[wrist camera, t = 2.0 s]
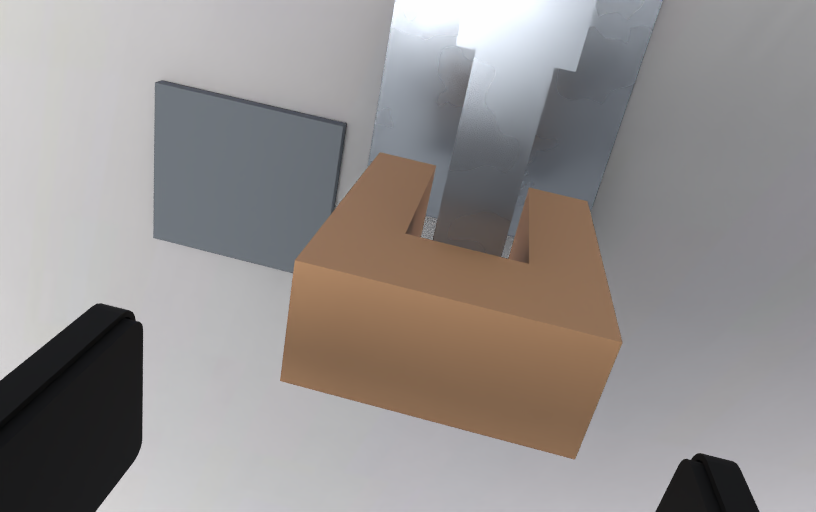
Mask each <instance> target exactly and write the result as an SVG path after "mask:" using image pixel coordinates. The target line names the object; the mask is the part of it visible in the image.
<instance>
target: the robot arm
mask: <svg viewBox="0 0 816 512" xmlns="http://www.w3.org/2000/svg"><path fill="white" fill-rule="evenodd" d="M142 401H143V326H142V324H141V323H140V322H138V321H135V316H134V314H133V312H131V311H129V310H125V309H121V308H117V307H113V306H109V305H105V304H96V305H94V306H92V307H91V308H90V309H89V310H87V311H86V312H85V313H84V314H82V315H81V316H80V317H79V318H77V319H76V320H75V321H74V322H73V323H71V324H70V325H69V326H68V327H66V328H65V329H64V330H63V331H61V332H60V333H59V334H58V335H56V336H55V337H54V338H53V339H51V340H50V341H49V342H48V343H46V344H45V345H44V346H43V347H42V348H40V349H39V350H38V351H37V352H35V353H34V354H33V355H32V356H30V357H29V358H28V359H27V360H25V361H24V362H23V363H22V364H20V365H19V366H18V367H17V368H16V369H14V370H13V371H12V372H10V373H9V374H8V375H7V376H5V377H4V378H3V379H2V380H1V381H0V512H96V510H97V509H98V508H99V506H100V505H101V504H102V502H103V501H104V500H105V498H106V497H107V496H108V495H109V493H110V492H111V491H112V489H113V488H114V487H115V485H116V484H117V483H118V482H119V480H120V479H121V478H122V476H123V475H124V474H125V472H126V471H127V470H128V469H129V467H130V466H131V465H132V463H133V462H134V460H135V459H136V457H137V455H138V453H139V451H140V448H141V444H142ZM656 512H759V510H758V508H757V505H756V503H755V501H754V499H753V496H752V494H751V492H750V490H749V487H748V485H747V483H746V481H745V479H744V476H743V474H742V472H741V470H740V468H739V466H738V465H737V464H736V463H735V462H733V461H729V460H725V459H721V458H717V457H713V456H709V455H705V454H701V453H699V454H696V455H695V456H693V458H692V459H691V460H688V459H684V460H682V461H681V462H680V464H679V466H678V468H677V470H676V472H675V474H674V476H673V478H672V480H671V482H670V484H669V486H668V488H667V490H666V492H665V494H664V496H663V498H662V500H661V502H660V504H659V506H658V508H657V510H656Z"/></svg>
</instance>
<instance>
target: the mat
mask: <svg viewBox="0 0 816 512" xmlns="http://www.w3.org/2000/svg"><path fill="white" fill-rule="evenodd" d="M346 125H347V124H346V123H342V122H338V121H333V120H329V119H325V118H321V117H316V116H312V115H308V114H304V113H299V112H295V111H291V110H286V109H282V108H278V107H274V106H269V105H265V104H261V103H256V102H252V101H248V100H244V99H239V98H235V97H231V96H226V95H222V94H218V93H214V92H209V91H205V90H201V89H196V88H192V87H188V86H184V85H179V84H175V83H171V82H166V81H162V80H161V81H158V82H155V135H154V233H153V238H156V239H160V240H164V241H168V242H172V243H176V244H180V245H184V246H188V247H192V248H196V249H200V250H203V251H207V252H211V253H215V254H219V255H223V256H227V257H231V258H235V259H239V260H243V261H247V262H251V263H255V264H259V265H263V266H267V267H271V268H275V269H279V270H282V271H286V272H290V273H293V271H294V263H295V259H296V258H297V257H298V256H299V254H300V253H301V252H302V250H303V249H304V248H305V247H306V245H307V244H308V243H309V242H310V240H311V239H312V238H313V236H314V235H315V234H316V233H317V231H318V230H319V229H320V228H321V226H322V225H323V224H324V222H325V221H326V220H327V219H328V217H329V216H330V215H331V214H332V212H333V211H334V206H335V200H336V193H337V186H338V179H339V172H340V165H341V159H342V152H343V145H344V138H345V131H346Z"/></svg>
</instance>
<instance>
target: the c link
mask: <svg viewBox="0 0 816 512" xmlns="http://www.w3.org/2000/svg"><path fill="white" fill-rule="evenodd" d="M435 170H436V165H432V164H428V163H423V162H419V161H415V160H411V159H406V158H402V157H398V156H394V155H390V154H385V153H381V152H380V153H379V154H378V155H377V156H376V158H375V159H374V160H373V162H372V163H371V164H370V165H369V167H368V168H367V169H366V170H365V172H364V173H363V174H362V176H361V177H360V178H359V179H358V181H357V182H356V183H355V184H354V186H353V187H352V188H351V189H350V191H349V192H348V193H347V195H346V196H345V197H344V198H343V200H342V201H341V202H340V203H339V205H338V206H337V207H336V209H335V210H334V211H333V212H332V214H331V215H330V216H329V217H328V219H327V220H326V221H325V222H324V224H323V225H322V226H321V228H320V229H319V230H318V231H317V233H316V234H315V235H314V236H313V238H312V239H311V240H310V242H309V243H308V244H307V245H306V247H305V248H304V249H303V250H302V252H301V253H300V254H299V256H298V257H297V258H296V259H295V263H294V271H293V279H292V288H291V296H290V304H289V312H288V321H287V329H286V337H285V345H284V353H283V362H282V370H281V378H280V381H282V382H286V383H290V384H294V385H297V386H301V387H305V388H309V389H312V390H316V391H320V392H324V393H327V394H331V395H335V396H339V397H342V398H346V399H350V400H354V401H357V402H361V403H365V404H369V405H372V406H376V407H380V408H384V409H387V410H391V411H395V412H399V413H402V414H406V415H410V416H414V417H417V418H421V419H425V420H429V421H432V422H436V423H440V424H444V425H447V426H451V427H455V428H459V429H462V430H466V431H470V432H474V433H477V434H481V435H485V436H489V437H492V438H496V439H500V440H504V441H507V442H511V443H515V444H519V445H522V446H526V447H530V448H534V449H537V450H541V451H545V452H549V453H552V454H556V455H560V456H564V457H567V458H571V459H575V458H576V456H577V453H578V451H579V448H580V446H581V443H582V441H583V438H584V436H585V434H586V431H587V429H588V426H589V424H590V421H591V419H592V416H593V414H594V411H595V409H596V406H597V404H598V401H599V399H600V396H601V394H602V392H603V389H604V387H605V384H606V382H607V379H608V377H609V374H610V372H611V369H612V367H613V364H614V362H615V359H616V357H617V355H618V352H619V350H620V347H621V345H622V339H621V335H620V331H619V327H618V323H617V319H616V315H615V311H614V307H613V302H612V298H611V294H610V290H609V286H608V282H607V278H606V274H605V270H604V266H603V262H602V258H601V254H600V250H599V246H598V242H597V237H596V233H595V229H594V225H593V221H592V217H591V213H590V209H589V205H588V201H584V200H580V199H576V198H572V197H567V196H563V195H559V194H555V193H551V192H546V191H542V190H538V189H534V188H529V189H528V193H527V196H526V200H525V203H524V207H523V210H522V213H521V217H520V220H519V224H518V227H517V231H516V234H515V238H514V241H513V245H512V248H511V252H510V255H509V258H508V259H507V258H503V257H499V256H495V255H491V254H487V253H482V252H478V251H474V250H470V249H466V248H462V247H458V246H454V245H450V244H446V243H442V242H438V241H434V240H429V239H425V238H421V234H422V230H423V225H424V220H425V216H426V211H427V206H428V202H429V197H430V193H431V188H432V183H433V179H434V174H435Z"/></svg>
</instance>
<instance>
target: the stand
mask: <svg viewBox="0 0 816 512" xmlns="http://www.w3.org/2000/svg"><path fill="white" fill-rule="evenodd" d="M662 1H663V0H395V5H394V11H393V17H392V23H391V29H390V35H389V41H388V47H387V53H386V59H385V65H384V71H383V77H382V83H381V89H380V95H379V101H378V107H377V113H376V119H375V125H374V131H373V137H372V143H371V149H370V155H369V161H368V167H369V165H370V164H371V163H372V162H373V160H374V159H375V158H376V156H377V155H378V154H379V153H380V152H381V153H385V154H390V155H394V156H398V157H402V158H406V159H411V160H415V161H419V162H423V163H428V164H432V165H436V170H435V174H434V179H433V183H432V188H431V193H430V197H429V202H428V206H427V211H426V216H430V217H434V218H438V219H437V224H436V228H435V232H434V237H433V240H434V241H438V242H442V243H446V244H450V245H454V246H458V247H462V248H466V249H470V250H474V251H478V252H482V253H487V254H491V255H495V256H499V257H501V255H502V252H503V248H504V245H505V241H506V238H507V235H508V236H512V237H515V234H516V231H517V227H518V224H519V220H520V217H521V213H522V210H523V207H524V203H525V200H526V196H527V193H528V189H529V188H534V189H538V190H542V191H546V192H551V193H555V194H559V195H563V196H567V197H572V198H576V199H580V200H584V201H588V205H589V209H590V212H591V209H592V207H593V204H594V201H595V198H596V195H597V192H598V189H599V186H600V183H601V180H602V177H603V174H604V171H605V168H606V165H607V163H608V160H609V157H610V154H611V151H612V148H613V145H614V142H615V139H616V136H617V133H618V130H619V127H620V124H621V121H622V119H623V116H624V113H625V110H626V107H627V104H628V101H629V98H630V95H631V92H632V89H633V86H634V83H635V80H636V77H637V75H638V72H639V69H640V66H641V63H642V60H643V57H644V54H645V51H646V48H647V45H648V42H649V39H650V36H651V33H652V31H653V28H654V25H655V22H656V19H657V16H658V13H659V10H660V7H661V4H662ZM368 167H367V168H368Z"/></svg>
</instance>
